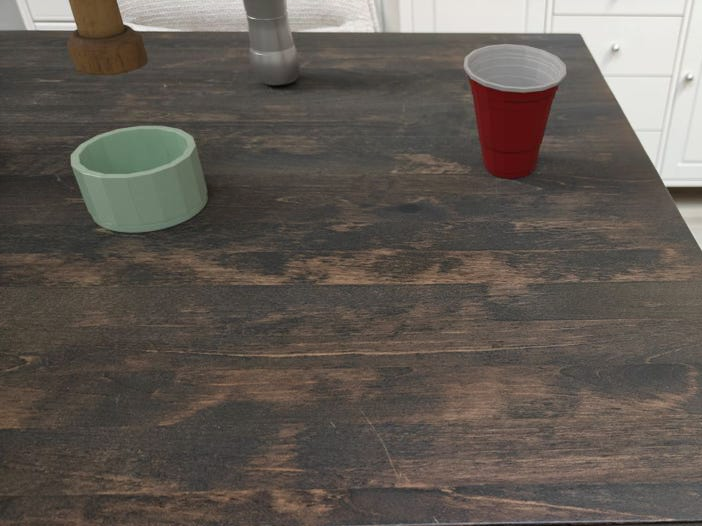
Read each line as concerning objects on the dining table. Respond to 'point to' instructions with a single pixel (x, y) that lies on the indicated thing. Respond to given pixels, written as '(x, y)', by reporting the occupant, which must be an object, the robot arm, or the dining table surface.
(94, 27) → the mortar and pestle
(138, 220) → the holder
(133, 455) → the dining table surface
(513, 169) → the plastic cup
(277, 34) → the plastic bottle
